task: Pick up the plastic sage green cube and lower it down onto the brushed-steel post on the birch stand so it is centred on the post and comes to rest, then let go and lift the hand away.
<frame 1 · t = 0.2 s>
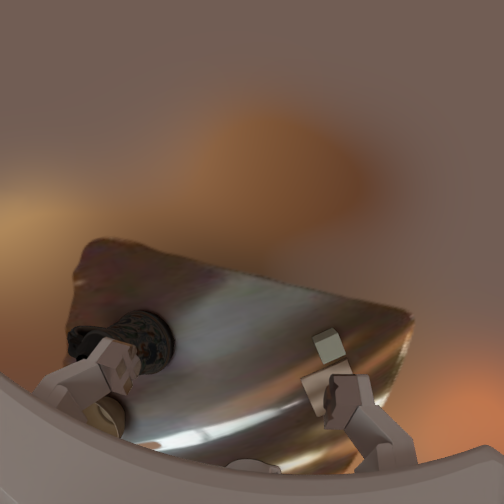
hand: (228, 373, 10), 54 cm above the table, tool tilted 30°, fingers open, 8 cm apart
planter bowl: (113, 409, 66), on the table
beer stein: (142, 340, 66), on the table
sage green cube: (326, 342, 62), on the table
post stand: (331, 387, 61), on the table
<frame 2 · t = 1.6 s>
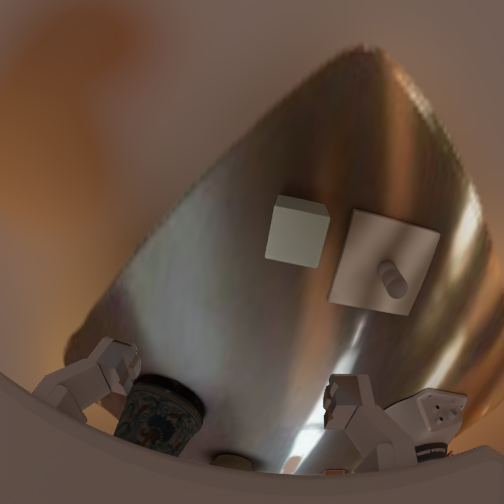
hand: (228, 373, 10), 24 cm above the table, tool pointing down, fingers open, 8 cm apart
planter bowl: (234, 460, 58), on the table
beer stein: (168, 402, 51), on the table
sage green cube: (297, 221, 32), on the table
skincare box: (332, 471, 55), on the table
post stand: (383, 264, 32), on the table
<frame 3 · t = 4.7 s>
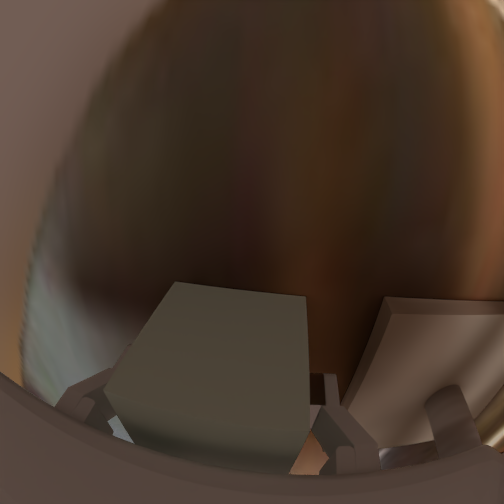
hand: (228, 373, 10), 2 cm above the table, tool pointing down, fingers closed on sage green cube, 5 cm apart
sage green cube: (237, 339, 12), on the table, touching gripper
post stand: (437, 383, 12), on the table
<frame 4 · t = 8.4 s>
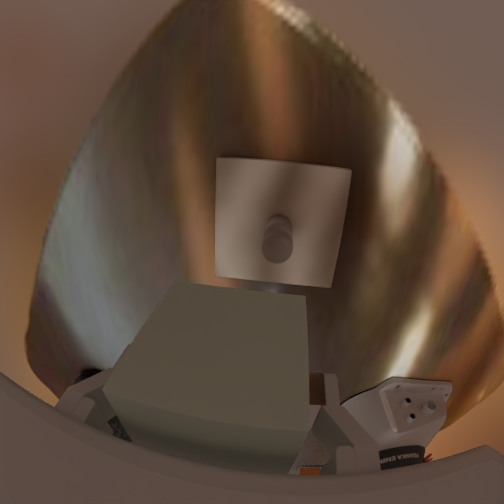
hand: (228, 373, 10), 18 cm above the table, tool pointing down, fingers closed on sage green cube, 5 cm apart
beer stein: (115, 397, 47), on the table
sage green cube: (236, 338, 12), point 16 cm above the table, touching gripper
skincare box: (308, 467, 52), on the table
post stand: (279, 222, 27), on the table
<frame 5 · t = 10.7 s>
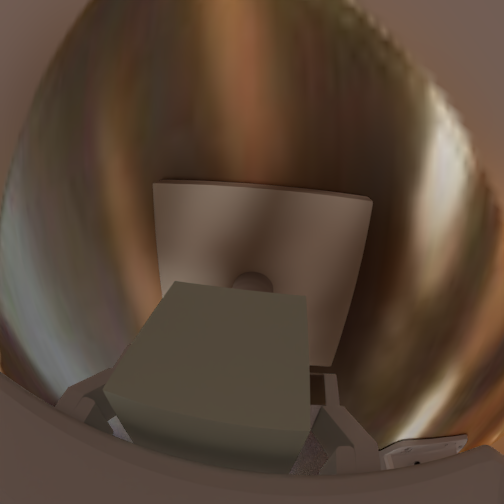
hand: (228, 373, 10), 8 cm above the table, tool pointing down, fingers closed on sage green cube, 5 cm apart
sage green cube: (236, 338, 12), point 6 cm above the table, touching gripper
post stand: (255, 279, 18), on the table
when the fingers open (5 cm above the table, at t = 12.3 s): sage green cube drops 1 cm, resting on post stand.
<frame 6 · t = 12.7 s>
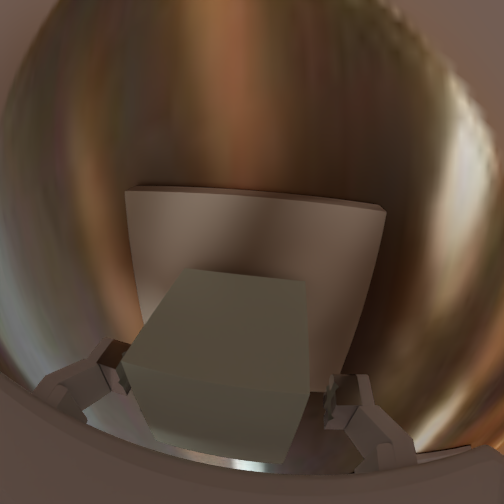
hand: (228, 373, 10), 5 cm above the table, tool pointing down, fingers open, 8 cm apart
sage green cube: (241, 322, 13), point 2 cm above the table, touching post stand
post stand: (246, 300, 15), on the table
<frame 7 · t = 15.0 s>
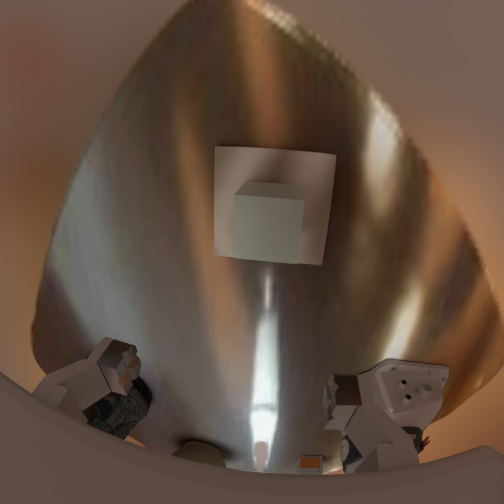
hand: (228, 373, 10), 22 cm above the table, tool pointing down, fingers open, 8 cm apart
planter bowl: (203, 447, 57), on the table
beer stein: (118, 385, 49), on the table
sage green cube: (271, 209, 28), point 2 cm above the table, touching post stand
skincare box: (309, 457, 54), on the table
post stand: (272, 204, 29), on the table
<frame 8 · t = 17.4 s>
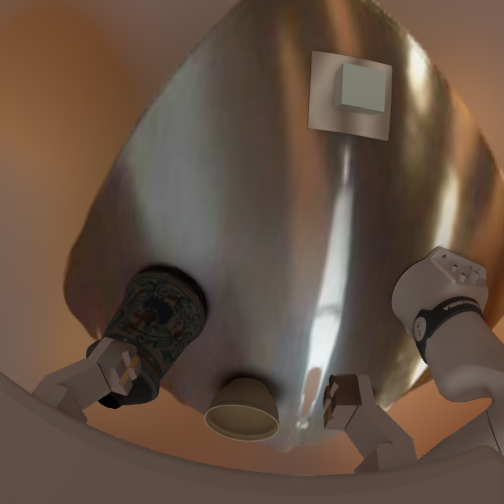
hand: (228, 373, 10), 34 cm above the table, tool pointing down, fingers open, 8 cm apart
planter bowl: (248, 388, 61), on the table
beer stein: (168, 305, 53), on the table
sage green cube: (353, 93, 32), point 2 cm above the table, touching post stand
post stand: (350, 95, 34), on the table
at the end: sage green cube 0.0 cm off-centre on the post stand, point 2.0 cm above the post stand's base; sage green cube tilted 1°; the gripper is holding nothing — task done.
